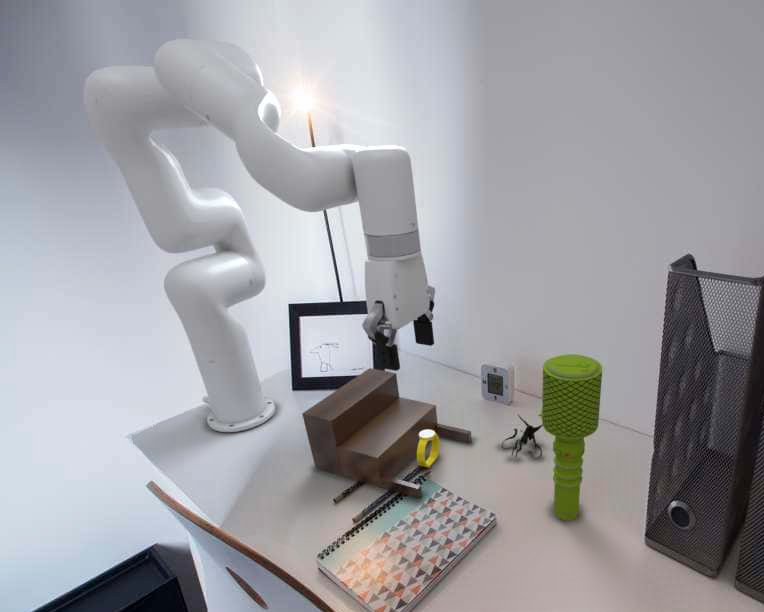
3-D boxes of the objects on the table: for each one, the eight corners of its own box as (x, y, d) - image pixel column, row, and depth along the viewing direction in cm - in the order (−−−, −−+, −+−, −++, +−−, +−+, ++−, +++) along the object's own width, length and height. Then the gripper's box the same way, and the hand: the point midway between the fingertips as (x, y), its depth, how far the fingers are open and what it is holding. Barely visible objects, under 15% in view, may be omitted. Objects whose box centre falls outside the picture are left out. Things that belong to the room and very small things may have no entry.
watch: (429, 474, 89) (425, 444, 86) (414, 471, 90) (410, 442, 87) (444, 454, 94) (441, 426, 91) (430, 451, 94) (427, 423, 92)
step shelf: (315, 468, 91) (301, 413, 86) (377, 417, 105) (369, 368, 100) (419, 499, 83) (411, 441, 78) (471, 440, 97) (468, 387, 92)
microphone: (589, 496, 83) (599, 349, 70) (593, 530, 76) (606, 375, 64) (537, 495, 83) (539, 349, 71) (537, 529, 77) (539, 375, 64)
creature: (534, 470, 91) (554, 439, 96) (531, 448, 87) (552, 418, 92) (495, 457, 94) (516, 428, 99) (491, 436, 91) (513, 407, 96)
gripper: (405, 230, 82) (418, 333, 90) (330, 257, 69) (354, 375, 77) (447, 232, 79) (456, 338, 88) (378, 261, 66) (397, 383, 74)
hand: (408, 355), depth 82 cm, fingers open, 9 cm apart
